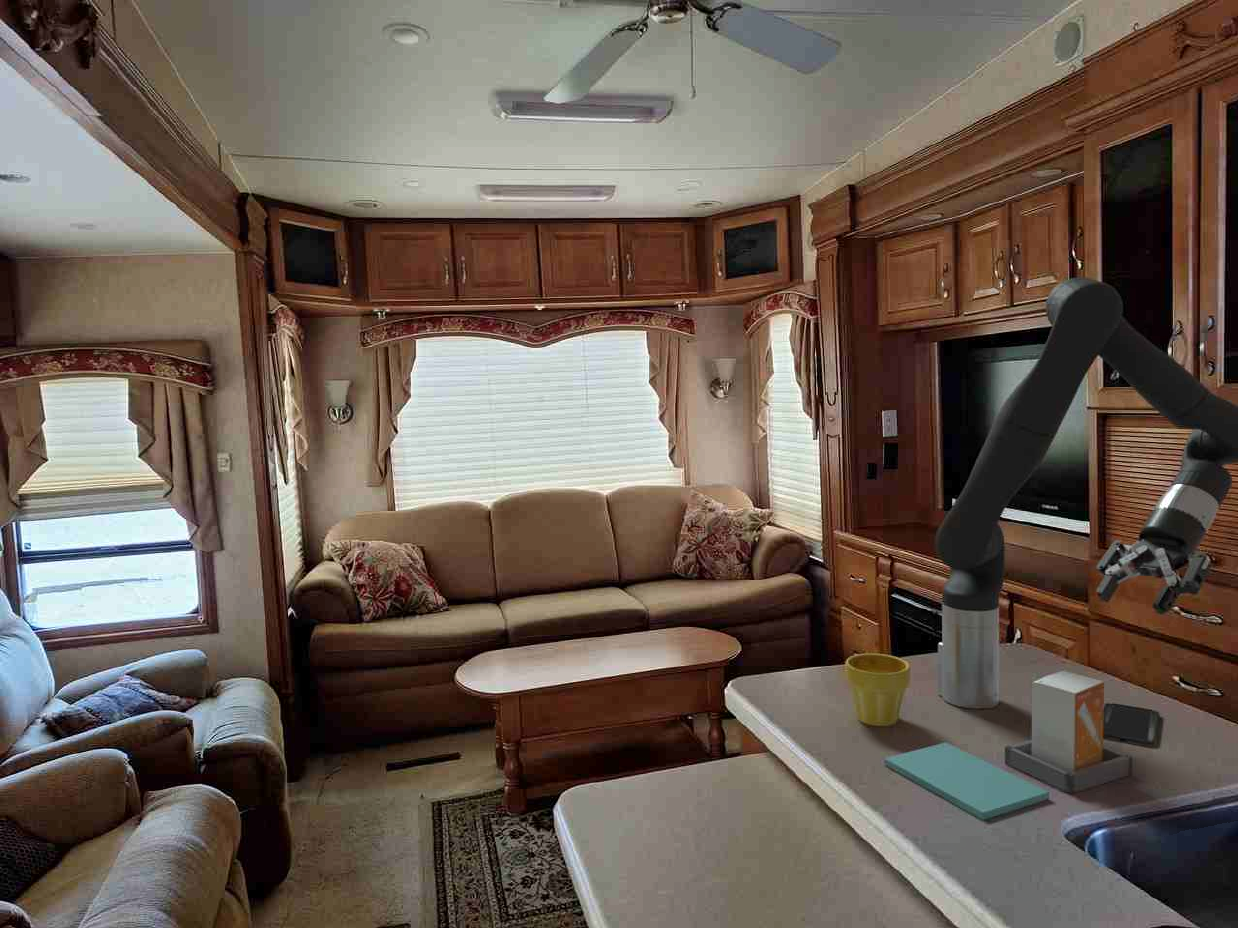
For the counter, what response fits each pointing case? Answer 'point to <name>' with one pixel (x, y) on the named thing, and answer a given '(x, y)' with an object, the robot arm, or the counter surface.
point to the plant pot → (877, 687)
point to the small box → (1068, 720)
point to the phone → (1130, 724)
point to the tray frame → (1069, 782)
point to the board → (966, 780)
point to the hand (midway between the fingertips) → (1129, 604)
